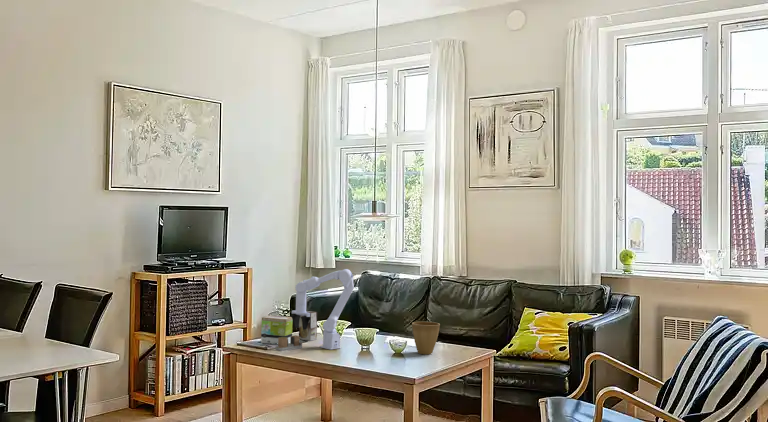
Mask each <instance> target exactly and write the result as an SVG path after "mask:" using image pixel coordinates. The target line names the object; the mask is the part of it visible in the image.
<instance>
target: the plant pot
mask: <svg viewBox="0 0 768 422" xmlns="http://www.w3.org/2000/svg"><path fill="white" fill-rule="evenodd" d="M440 326H441V324H440V323H438V322H434V321H414V322H412V324H411V327H412V334H413V340H414V343H415V348H416V351H417V354H420V355H432V354H433V351H434V349H435V347H436V344H437V340H438V338H439V337H438V336H439V333H440ZM431 353H432V354H431Z"/></svg>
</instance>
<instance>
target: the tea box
mask: <svg viewBox="0 0 768 422" xmlns="http://www.w3.org/2000/svg"><path fill="white" fill-rule="evenodd" d="M293 324H294V322H293V319H292V317H291V316H282V315H270V314H269V315H266V316H263V317H261V325H260V326H261V330H260V333H261V334H260V335H261V336H260V343H261V344H270V343H278V337H287V338H288V343H289V342H290V340H291V336H293Z"/></svg>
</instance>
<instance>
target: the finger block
mask: <svg viewBox="0 0 768 422" xmlns="http://www.w3.org/2000/svg"><path fill="white" fill-rule="evenodd" d="M299 343H300V339H299V335H295V334H294V335H292V336H291V340H290V344H293V346H299Z"/></svg>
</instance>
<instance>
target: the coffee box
mask: <svg viewBox="0 0 768 422" xmlns="http://www.w3.org/2000/svg"><path fill="white" fill-rule="evenodd" d="M306 312H308V313H310V317H311V319H310V320H309V323H308V326H307V329H305V330H303V327H302V319H301V317H304V316H300V320H299V327H298V336H299V340H303V341H309V342H310V341H315V340H317V338H318V311H311V310H310V311H309V310H306Z"/></svg>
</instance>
